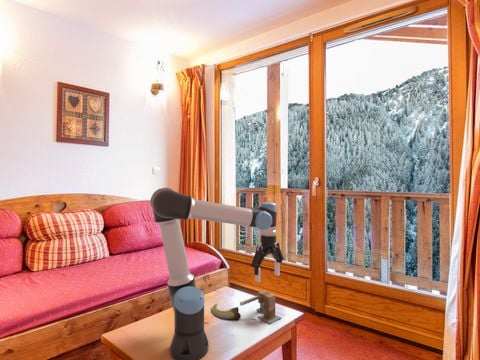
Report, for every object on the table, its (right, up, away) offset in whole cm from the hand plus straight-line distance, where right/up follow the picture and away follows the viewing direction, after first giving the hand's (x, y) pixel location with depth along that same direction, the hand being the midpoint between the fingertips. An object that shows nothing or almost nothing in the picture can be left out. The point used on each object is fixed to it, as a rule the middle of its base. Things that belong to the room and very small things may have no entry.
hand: (267, 278), depth 144 cm
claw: (-21, -20, +6) cm, 30 cm away
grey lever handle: (-7, -20, +3) cm, 21 cm away
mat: (+1, -20, 0) cm, 20 cm away
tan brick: (0, -19, +2) cm, 19 cm away
